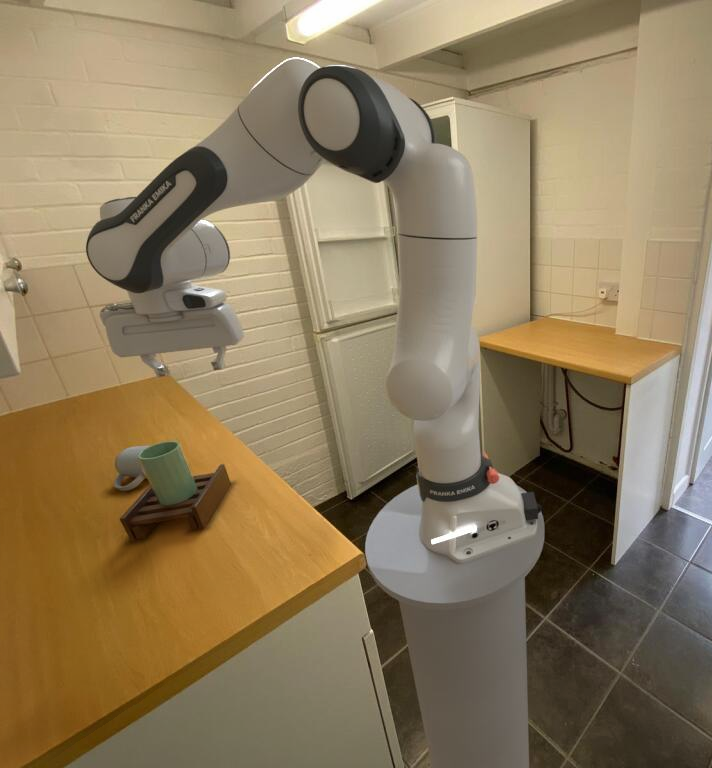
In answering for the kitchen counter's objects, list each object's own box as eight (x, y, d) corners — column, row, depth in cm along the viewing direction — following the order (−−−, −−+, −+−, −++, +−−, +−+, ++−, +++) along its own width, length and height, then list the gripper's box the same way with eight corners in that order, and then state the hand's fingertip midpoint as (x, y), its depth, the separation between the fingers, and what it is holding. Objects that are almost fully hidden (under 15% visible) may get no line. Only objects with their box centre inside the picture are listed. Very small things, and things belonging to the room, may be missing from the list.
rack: (231, 483, 96) (224, 463, 94) (204, 528, 83) (195, 506, 81) (169, 493, 94) (160, 473, 91) (130, 541, 80) (119, 519, 78)
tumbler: (203, 482, 90) (185, 438, 86) (189, 501, 84) (170, 455, 80) (168, 487, 89) (148, 443, 85) (152, 507, 83) (130, 461, 79)
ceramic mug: (147, 464, 104) (134, 438, 101) (177, 465, 104) (165, 439, 100) (106, 492, 95) (90, 464, 92) (138, 493, 94) (124, 465, 91)
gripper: (82, 309, 68) (118, 386, 74) (220, 296, 72) (244, 370, 78) (107, 301, 74) (139, 373, 79) (234, 290, 78) (255, 360, 83)
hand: (192, 372), depth 79 cm, fingers open, 8 cm apart
